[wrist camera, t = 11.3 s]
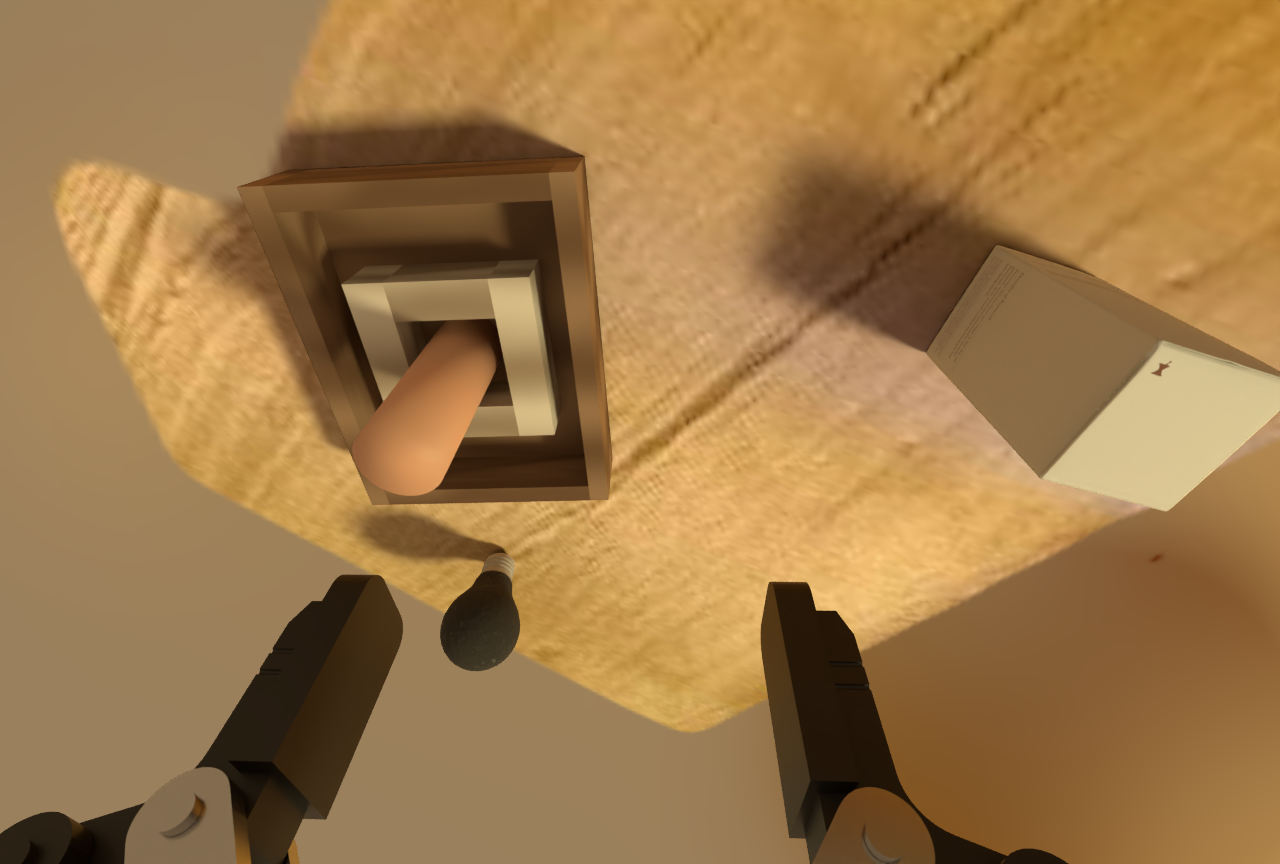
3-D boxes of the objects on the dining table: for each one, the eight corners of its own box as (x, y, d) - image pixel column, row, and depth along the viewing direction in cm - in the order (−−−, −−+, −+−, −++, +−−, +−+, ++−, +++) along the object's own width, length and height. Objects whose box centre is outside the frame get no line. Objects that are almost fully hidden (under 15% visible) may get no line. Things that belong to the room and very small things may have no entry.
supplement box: (921, 353, 35) (1033, 480, 25) (995, 240, 31) (1166, 335, 21) (1020, 384, 36) (1167, 517, 26) (1104, 278, 32) (1319, 386, 22)
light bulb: (532, 532, 45) (505, 640, 37) (539, 579, 48) (515, 688, 40) (463, 531, 45) (420, 639, 37) (474, 577, 48) (437, 686, 40)
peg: (431, 313, 33) (338, 425, 23) (497, 311, 33) (432, 422, 23) (448, 373, 36) (369, 497, 26) (509, 370, 35) (454, 494, 25)
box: (288, 170, 30) (236, 187, 26) (584, 156, 29) (574, 171, 25) (397, 463, 41) (372, 504, 37) (612, 458, 40) (608, 499, 37)
